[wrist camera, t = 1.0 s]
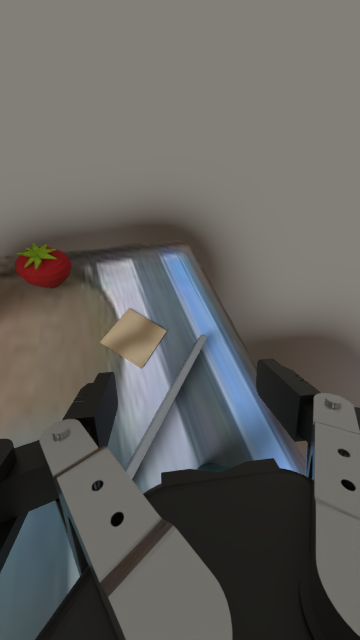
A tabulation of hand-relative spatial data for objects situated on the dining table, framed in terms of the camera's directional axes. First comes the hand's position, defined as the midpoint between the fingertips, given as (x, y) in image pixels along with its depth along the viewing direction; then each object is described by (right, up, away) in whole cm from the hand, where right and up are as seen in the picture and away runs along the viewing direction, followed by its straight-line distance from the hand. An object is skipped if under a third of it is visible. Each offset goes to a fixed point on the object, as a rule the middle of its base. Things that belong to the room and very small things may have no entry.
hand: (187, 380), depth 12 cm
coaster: (-8, 0, +25) cm, 27 cm away
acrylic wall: (-3, -10, +21) cm, 23 cm away
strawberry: (-23, +9, +26) cm, 36 cm away
